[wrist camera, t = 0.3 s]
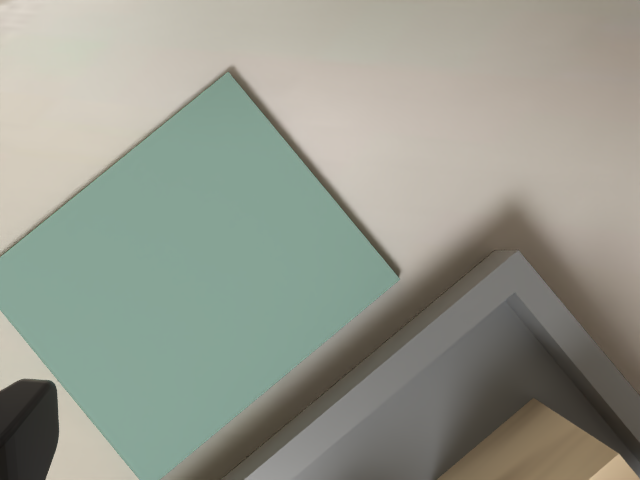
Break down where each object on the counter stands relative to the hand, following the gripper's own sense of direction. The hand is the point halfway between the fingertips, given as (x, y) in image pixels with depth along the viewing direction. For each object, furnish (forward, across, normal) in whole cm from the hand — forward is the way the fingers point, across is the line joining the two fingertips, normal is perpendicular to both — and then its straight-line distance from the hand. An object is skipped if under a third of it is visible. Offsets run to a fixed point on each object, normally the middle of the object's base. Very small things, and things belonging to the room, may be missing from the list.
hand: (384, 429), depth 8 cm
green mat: (+13, +4, +5) cm, 15 cm away
